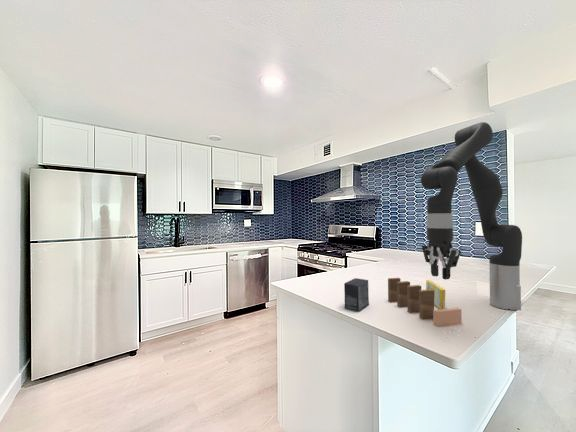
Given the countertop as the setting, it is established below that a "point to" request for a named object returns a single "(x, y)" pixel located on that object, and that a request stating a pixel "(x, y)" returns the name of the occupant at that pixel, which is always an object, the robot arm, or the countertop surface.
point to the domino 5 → (447, 317)
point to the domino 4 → (426, 304)
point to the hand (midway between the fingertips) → (440, 277)
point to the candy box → (437, 294)
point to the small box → (356, 294)
